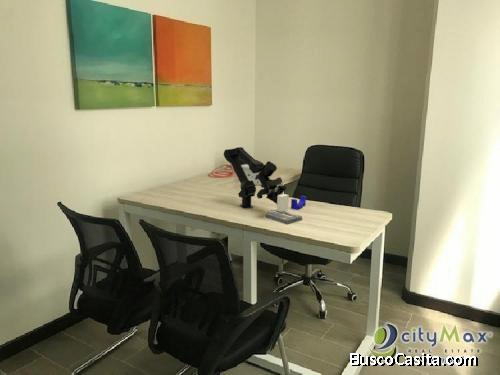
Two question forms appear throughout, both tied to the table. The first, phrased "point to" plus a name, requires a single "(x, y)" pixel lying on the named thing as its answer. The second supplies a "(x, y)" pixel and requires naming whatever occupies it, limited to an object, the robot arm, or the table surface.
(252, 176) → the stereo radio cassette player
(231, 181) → the table surface
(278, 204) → the fader handle
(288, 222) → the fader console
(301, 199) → the cable clip
